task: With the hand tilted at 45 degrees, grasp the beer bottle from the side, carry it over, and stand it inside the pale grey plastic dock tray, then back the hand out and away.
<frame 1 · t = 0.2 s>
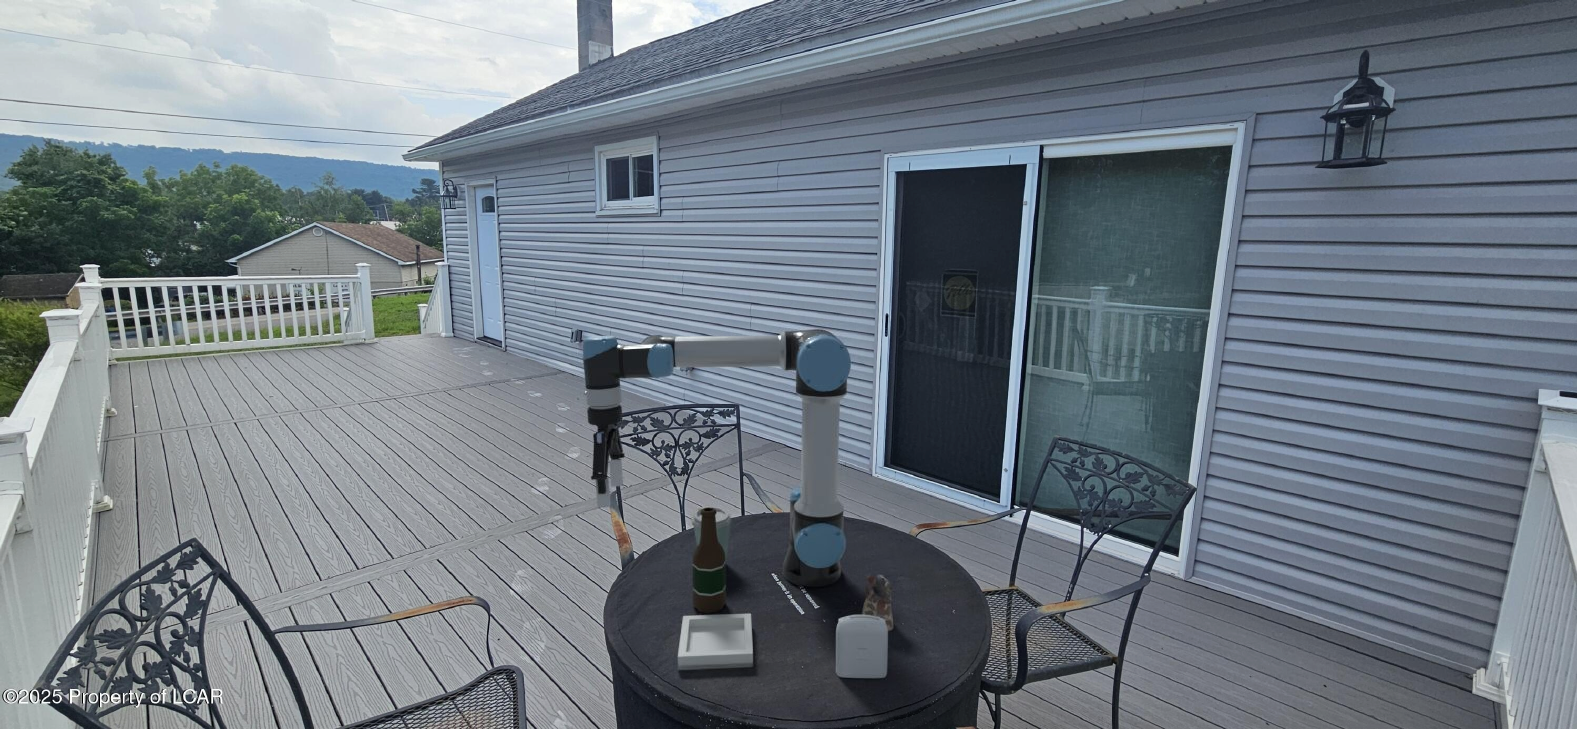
hand: (610, 495, 153), 27 cm above the table, tool pointing down, fingers open, 13 cm apart
figurine: (877, 625, 151), on the table
disposable coffee cup: (712, 566, 178), on the table
photo printer: (860, 674, 134), on the table
dock tray: (716, 646, 142), on the table
beer bottle: (709, 606, 158), on the table
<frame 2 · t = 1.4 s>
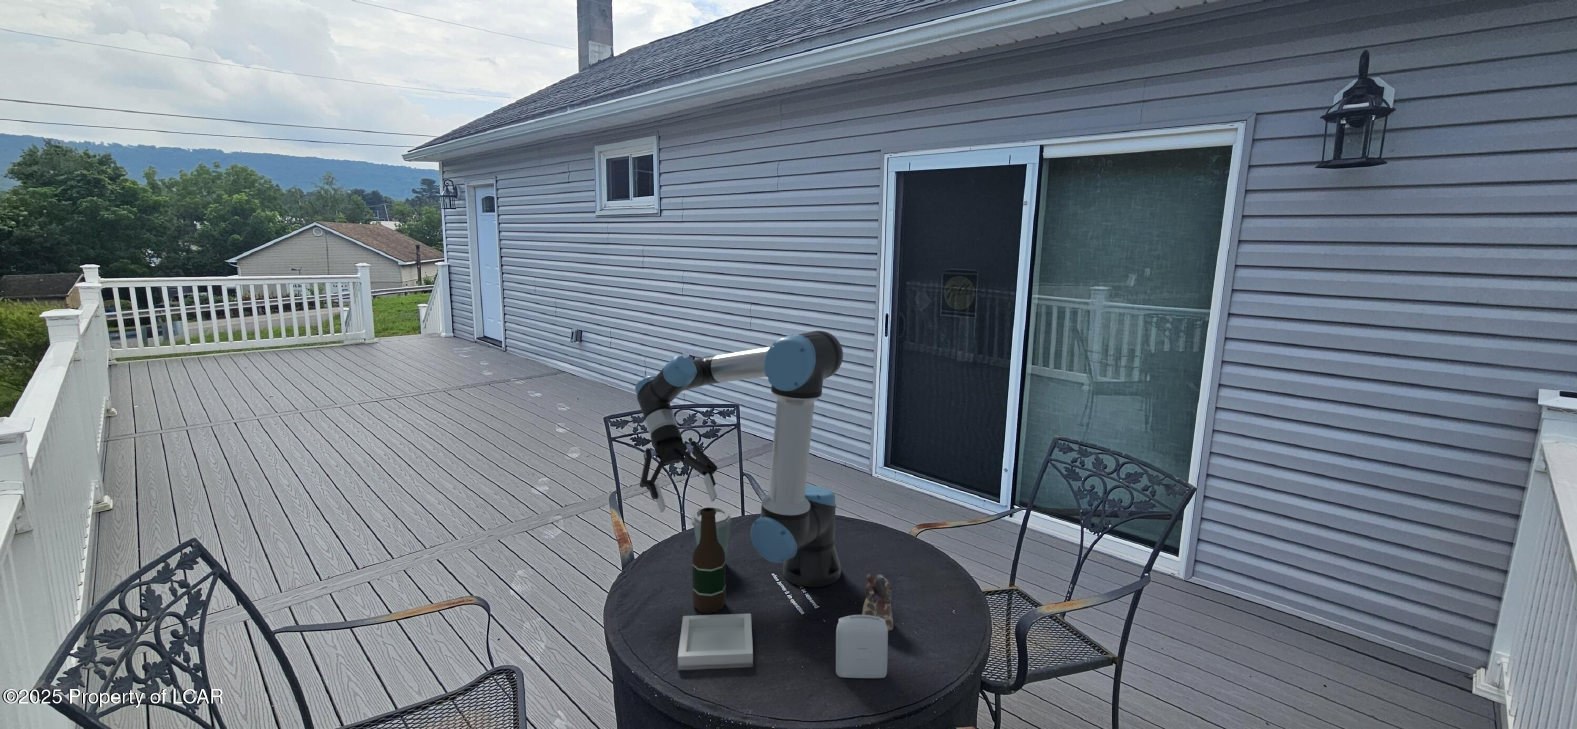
hand: (689, 504, 163), 22 cm above the table, tool tilted 45°, fingers open, 13 cm apart
nothing on the table moved.
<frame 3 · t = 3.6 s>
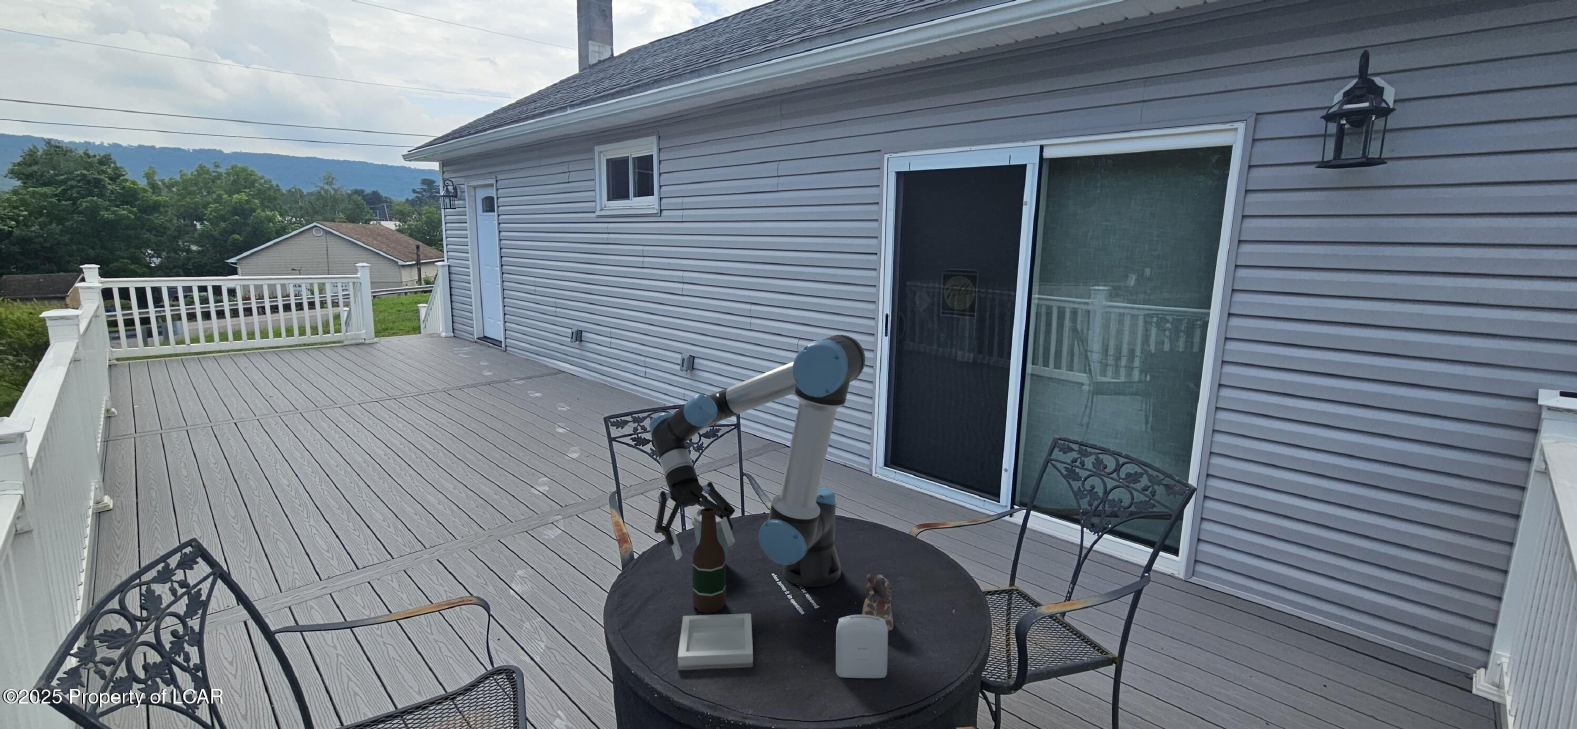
hand: (706, 551, 156), 14 cm above the table, tool tilted 45°, fingers open, 13 cm apart
nothing on the table moved.
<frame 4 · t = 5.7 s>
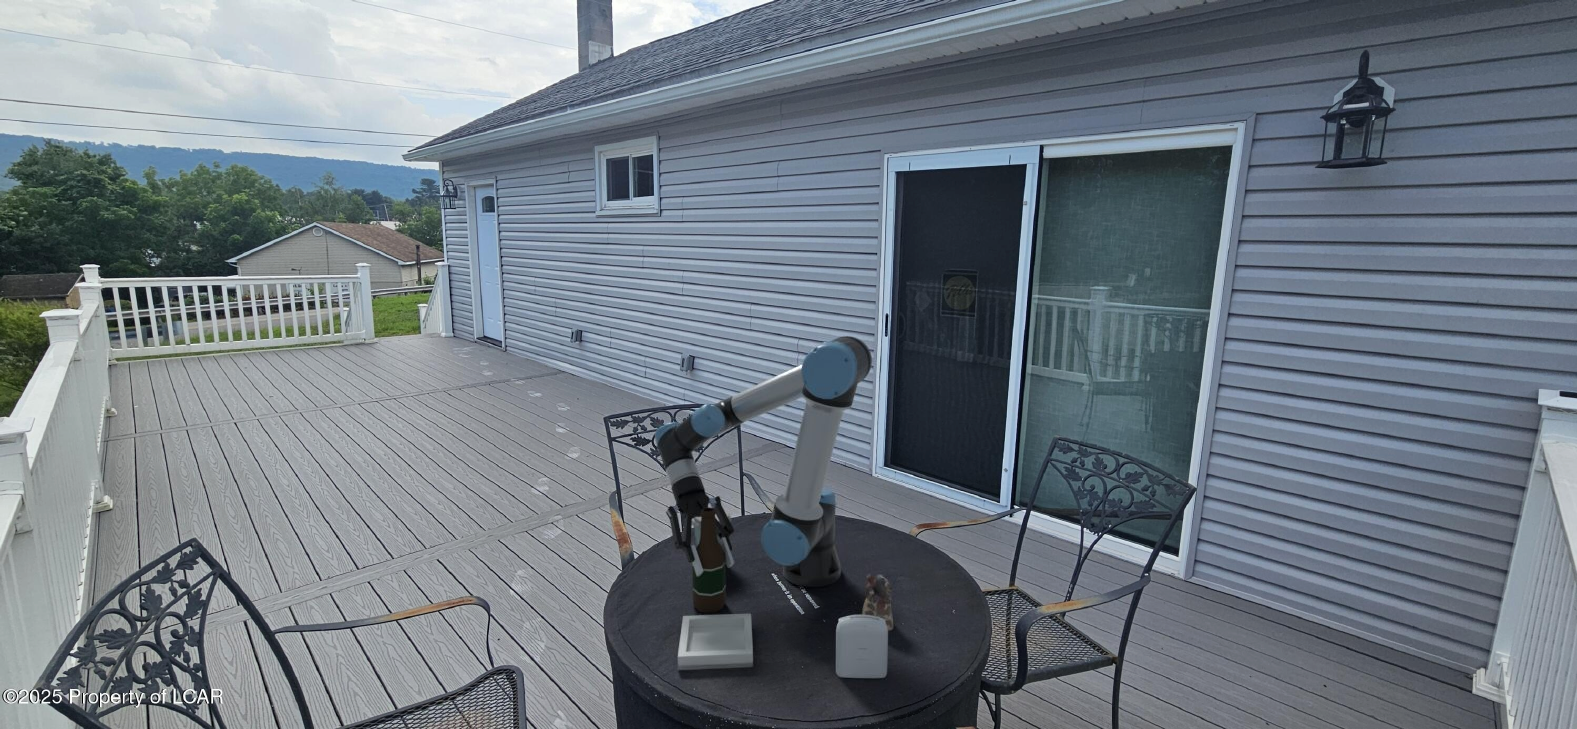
hand: (715, 569, 154), 11 cm above the table, tool tilted 45°, fingers closed on beer bottle, 7 cm apart
beer bottle: (709, 605, 158), on the table, touching gripper
everything else where it was.
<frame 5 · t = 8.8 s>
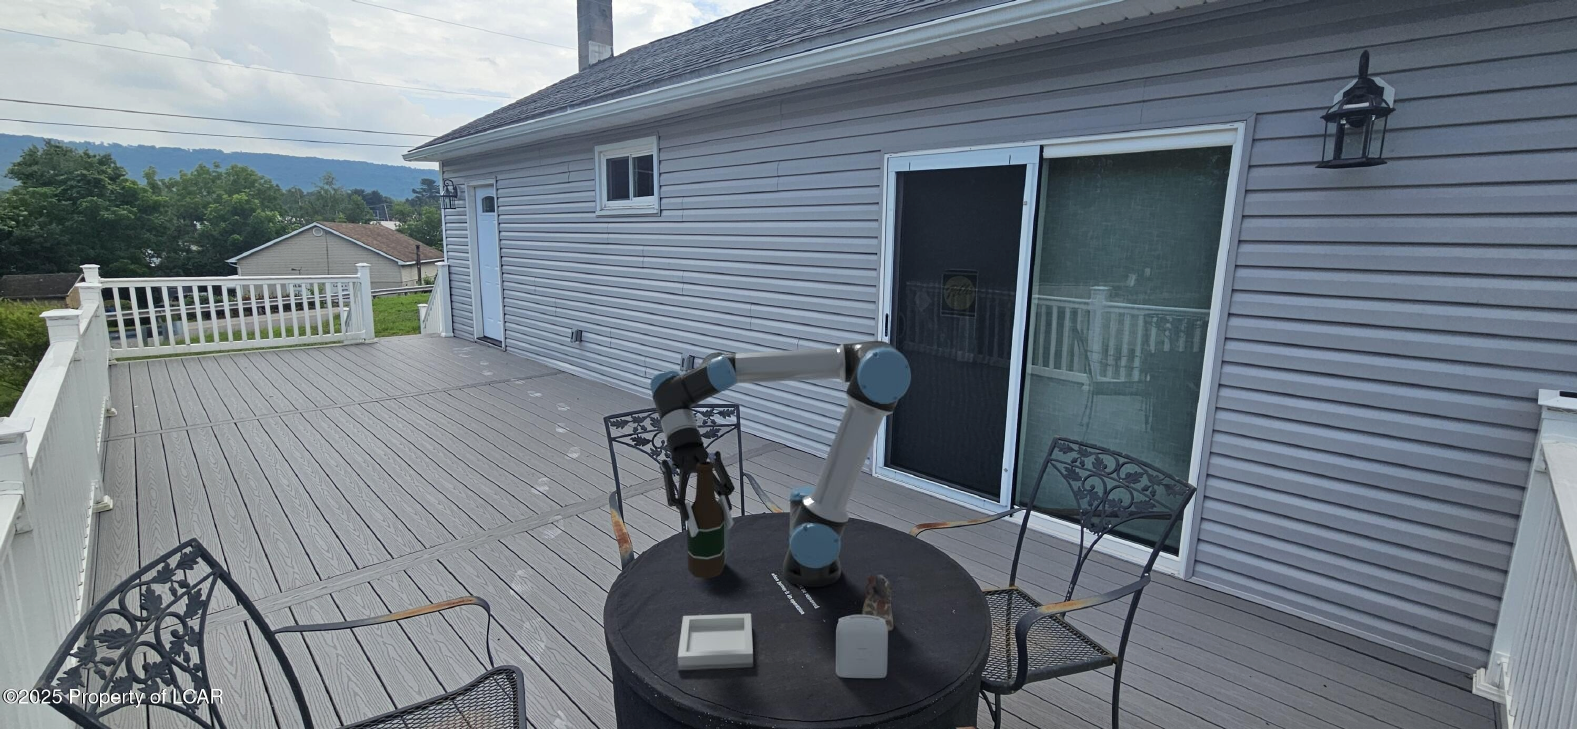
hand: (712, 530, 138), 26 cm above the table, tool tilted 45°, fingers closed on beer bottle, 7 cm apart
beer bottle: (706, 571, 143), point 16 cm above the table, touching gripper
everything else where it was.
when the fingers open (13 cm above the table, at t = 12.3 s): beer bottle drops 2 cm, resting on dock tray.
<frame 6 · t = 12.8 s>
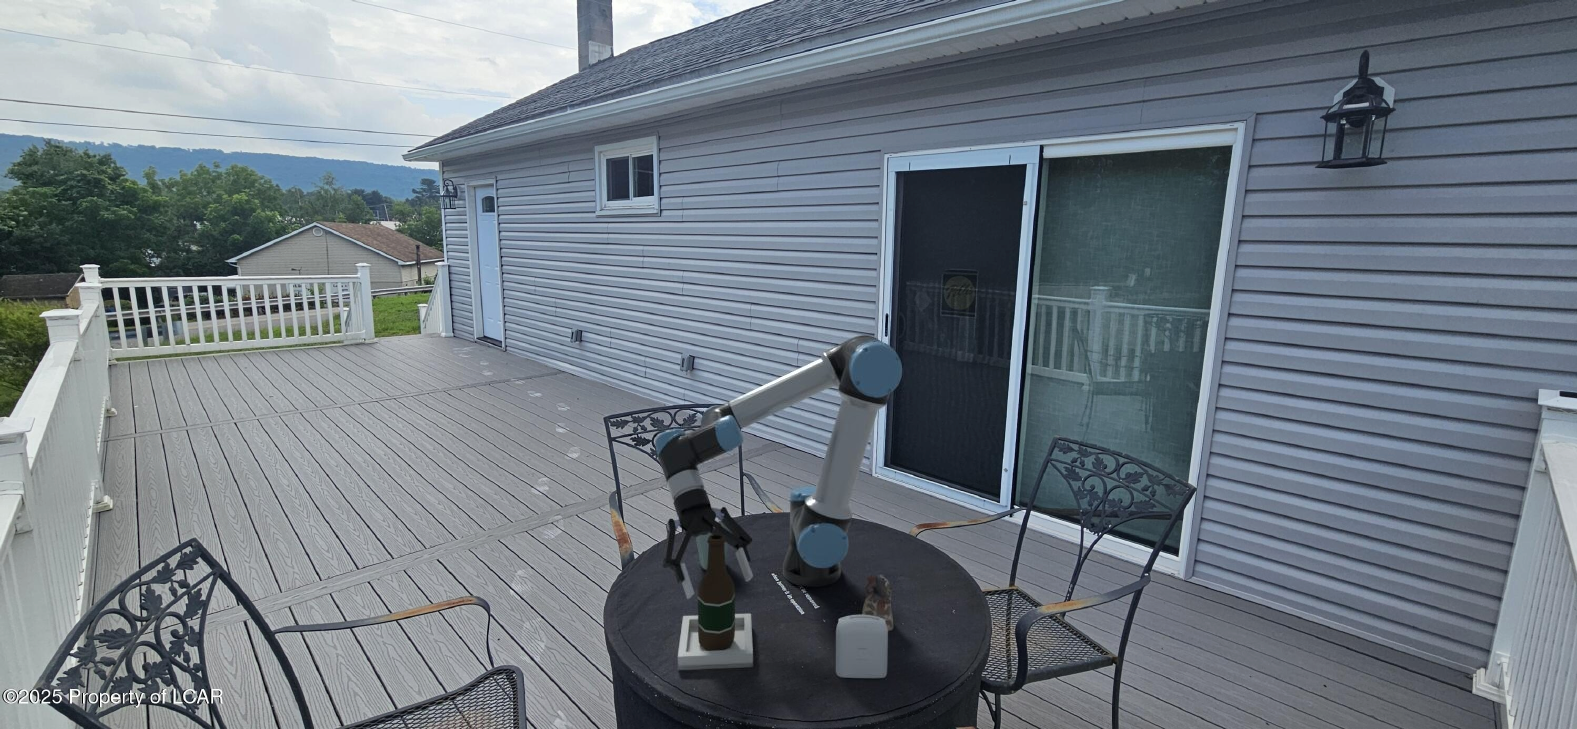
hand: (720, 587, 137), 15 cm above the table, tool tilted 45°, fingers open, 13 cm apart
beer bottle: (716, 642, 142), point 1 cm above the table, touching dock tray
everything else where it was.
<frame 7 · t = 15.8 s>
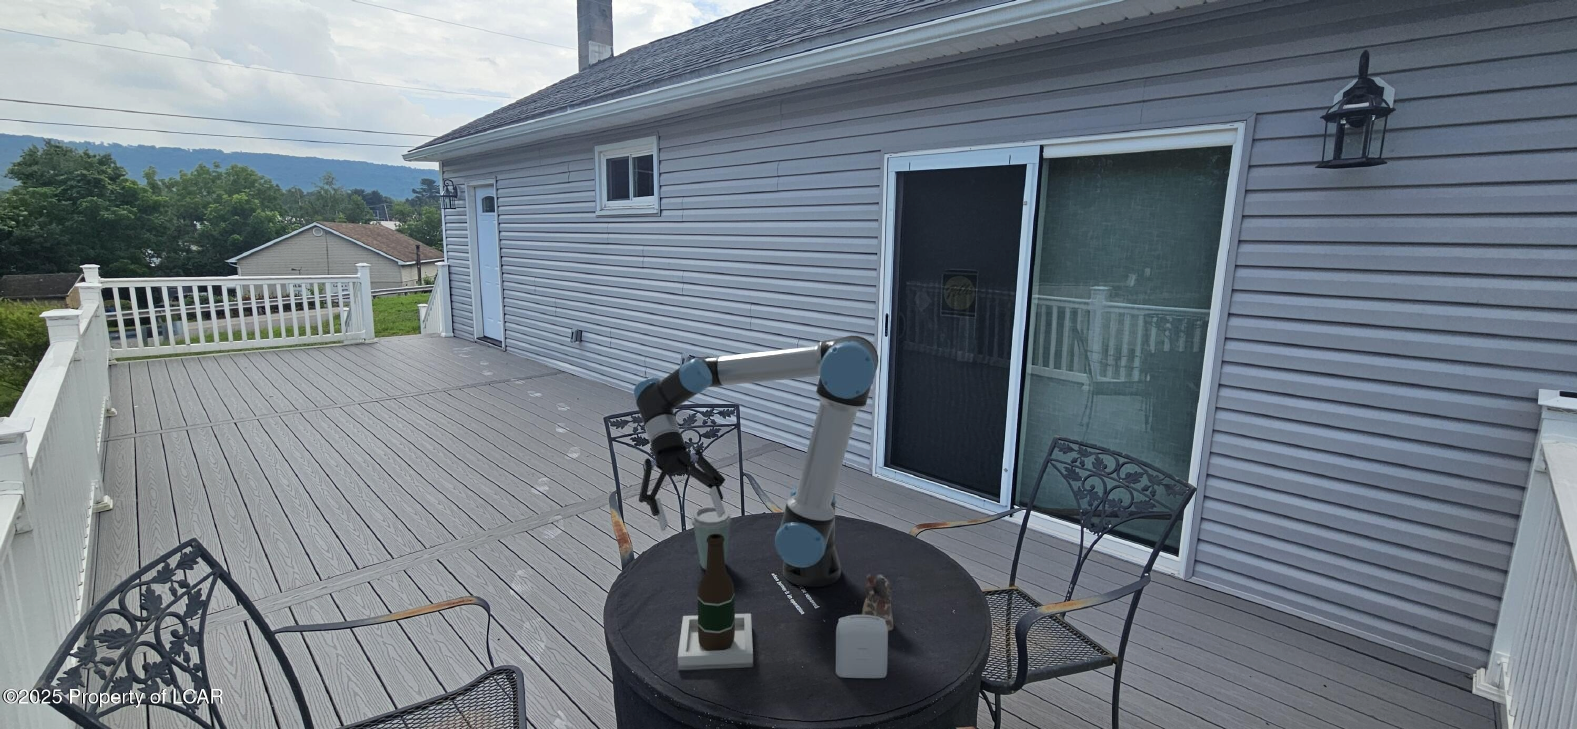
hand: (694, 521, 146), 24 cm above the table, tool tilted 45°, fingers open, 13 cm apart
nothing on the table moved.
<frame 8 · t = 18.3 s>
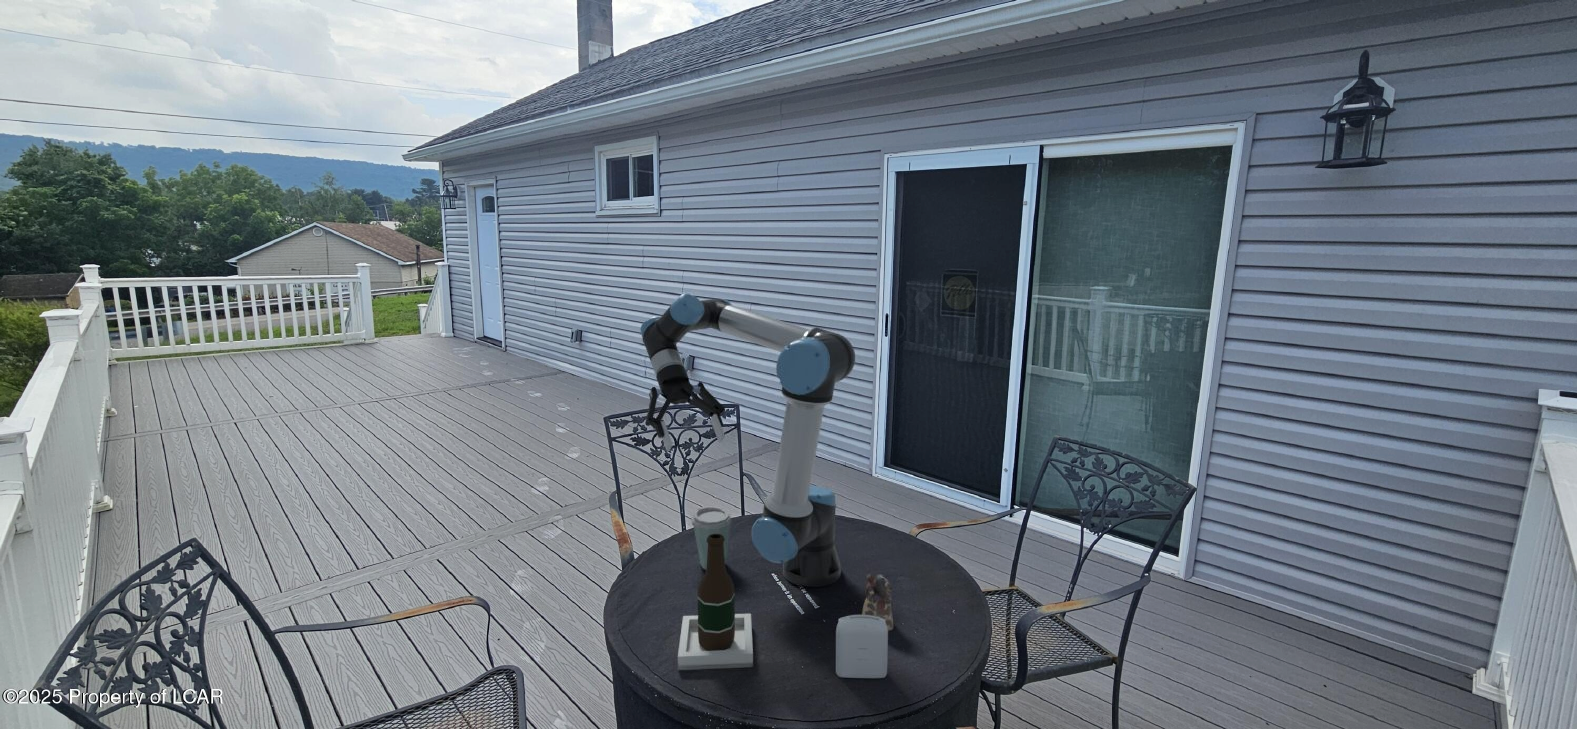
hand: (696, 443, 159), 38 cm above the table, tool tilted 45°, fingers open, 13 cm apart
nothing on the table moved.
at the end: beer bottle 0.0 cm off-centre on the dock tray, point 0.8 cm above the dock tray's base; beer bottle tilted 0°; the gripper is holding nothing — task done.
